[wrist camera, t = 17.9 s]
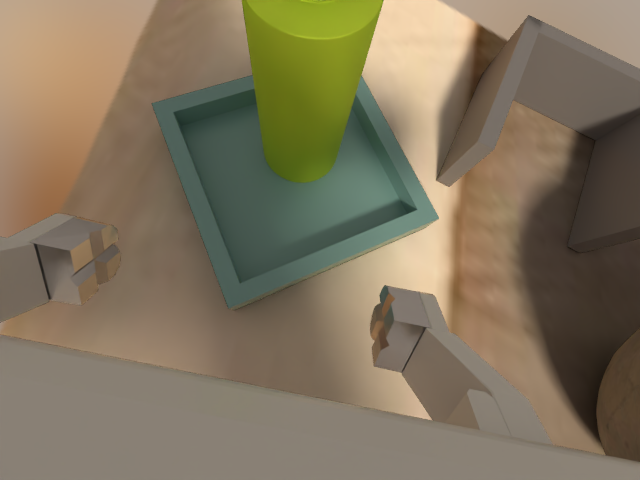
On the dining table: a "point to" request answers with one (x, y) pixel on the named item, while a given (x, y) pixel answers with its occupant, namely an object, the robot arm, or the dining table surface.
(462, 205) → the dining table surface
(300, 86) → the soap dispenser
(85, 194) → the dining table surface
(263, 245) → the tray
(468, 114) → the bay
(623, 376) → the bowl
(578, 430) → the dining table surface
